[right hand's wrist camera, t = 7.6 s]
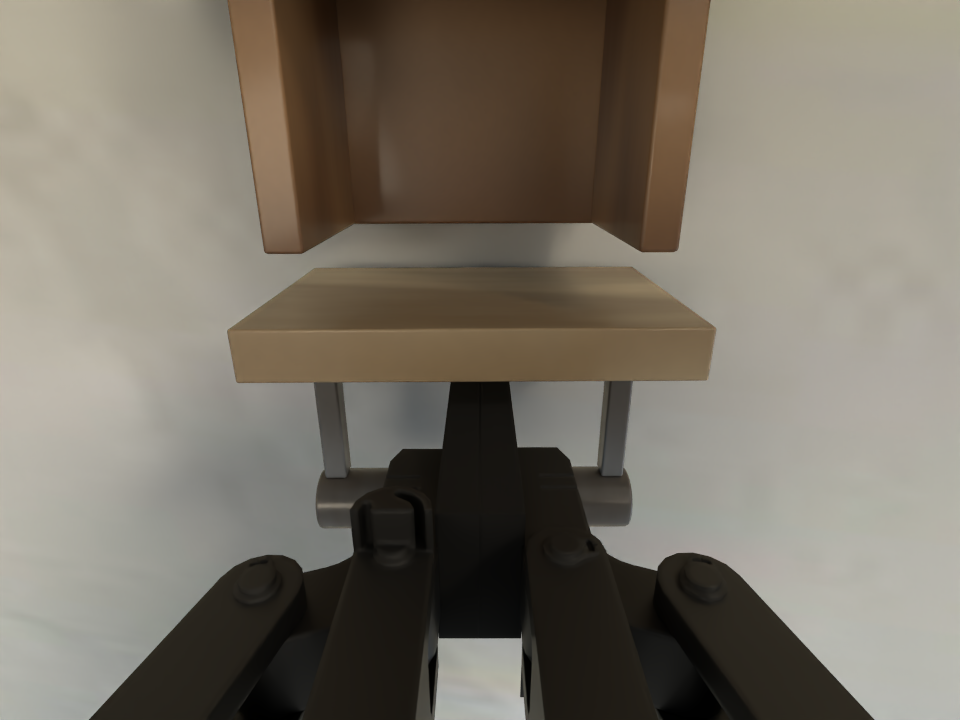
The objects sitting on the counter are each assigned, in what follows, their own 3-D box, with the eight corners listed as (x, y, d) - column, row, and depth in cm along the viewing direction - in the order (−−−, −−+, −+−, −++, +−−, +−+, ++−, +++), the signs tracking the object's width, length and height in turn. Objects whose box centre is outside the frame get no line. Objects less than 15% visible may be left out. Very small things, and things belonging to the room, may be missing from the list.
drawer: (614, 446, 19) (676, 577, 13) (334, 448, 19) (271, 581, 13) (718, -587, 11) (1019, -1505, 5) (216, -588, 11) (-111, -1519, 5)
